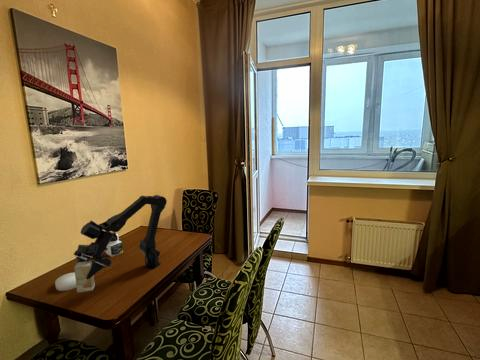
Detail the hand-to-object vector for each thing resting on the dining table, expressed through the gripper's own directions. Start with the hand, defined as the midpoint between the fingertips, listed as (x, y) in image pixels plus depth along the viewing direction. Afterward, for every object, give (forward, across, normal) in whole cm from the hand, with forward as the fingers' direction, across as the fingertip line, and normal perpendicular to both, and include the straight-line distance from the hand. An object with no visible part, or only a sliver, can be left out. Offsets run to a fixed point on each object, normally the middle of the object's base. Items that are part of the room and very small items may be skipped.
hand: (81, 277), depth 112 cm
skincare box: (+4, 0, +6) cm, 7 cm away
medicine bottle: (-17, -25, +33) cm, 45 cm away
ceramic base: (+5, -17, +10) cm, 21 cm away
